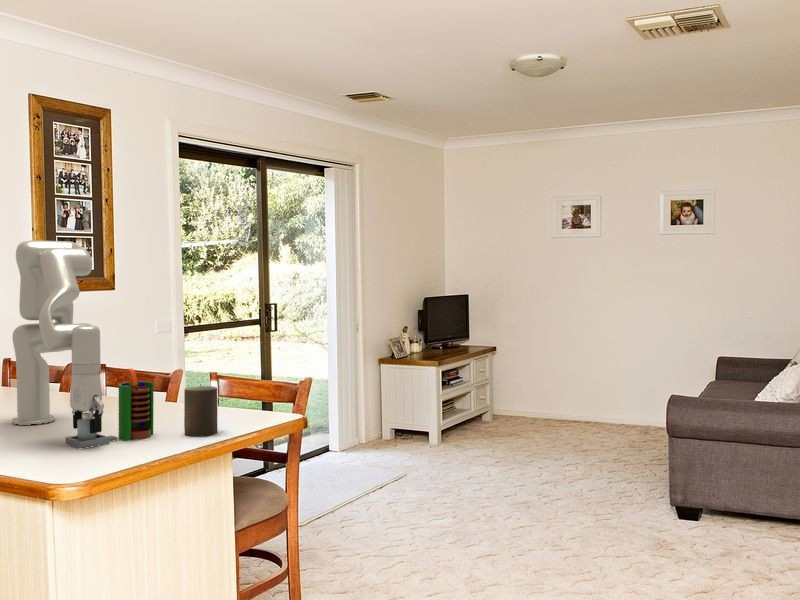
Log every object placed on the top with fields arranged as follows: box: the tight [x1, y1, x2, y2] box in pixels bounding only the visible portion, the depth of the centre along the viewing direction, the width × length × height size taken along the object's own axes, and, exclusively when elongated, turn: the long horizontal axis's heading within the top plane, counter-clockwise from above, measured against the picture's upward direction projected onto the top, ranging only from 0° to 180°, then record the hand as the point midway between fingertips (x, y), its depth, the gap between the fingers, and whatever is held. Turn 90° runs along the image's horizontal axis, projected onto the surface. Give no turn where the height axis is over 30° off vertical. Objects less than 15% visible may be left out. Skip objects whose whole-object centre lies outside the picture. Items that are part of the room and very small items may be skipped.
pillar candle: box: [183, 383, 218, 437], centre depth 238 cm, size 10×10×15 cm
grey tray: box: [64, 433, 118, 449], centre depth 224 cm, size 9×12×2 cm
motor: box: [118, 368, 155, 441], centre depth 232 cm, size 10×9×20 cm
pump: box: [76, 411, 97, 441], centre depth 223 cm, size 5×5×9 cm
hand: (87, 430), depth 223 cm, fingers open, 9 cm apart
